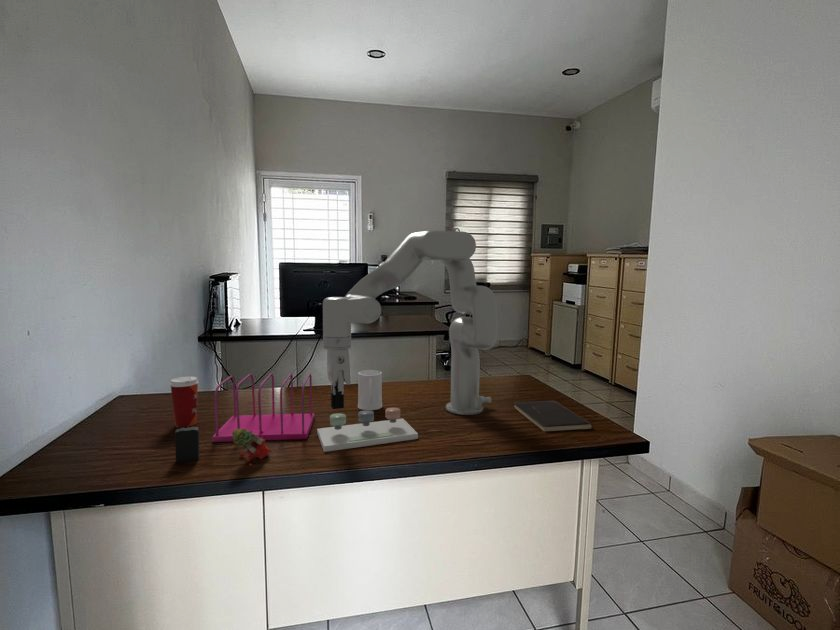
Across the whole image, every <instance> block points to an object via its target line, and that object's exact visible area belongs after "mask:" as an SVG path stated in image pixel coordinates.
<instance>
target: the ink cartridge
mask: <svg viewBox="0 0 840 630" xmlns="http://www.w3.org/2000/svg"><path fill="white" fill-rule="evenodd" d="M174 434H175V435H174V437H175V438H174V439H175V441H174V442H175V463H177V464H181V463H182V464H183V463H189V462H196V461H199V458H200V429H199V427H198V426H191V427H187V428H177V429H175V432H174Z"/></svg>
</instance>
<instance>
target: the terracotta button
mask: <svg viewBox="0 0 840 630" xmlns="http://www.w3.org/2000/svg"><path fill="white" fill-rule="evenodd" d="M384 410H385V416H384V417H385V418H386V419H387V420H389V422H391V423H395V422H396V419H401V411H402V410H401V409H400V408H398V407H387V408H386V409H384Z"/></svg>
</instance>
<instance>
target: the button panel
mask: <svg viewBox="0 0 840 630" xmlns="http://www.w3.org/2000/svg"><path fill="white" fill-rule="evenodd" d="M316 434H317V436H318V440H319V442H320V445H321V448H322V450H323V452H324V453H325V452H326V453H327V452H332V451H333V452H334V451H339V450H347V449H353V448H354V449H355V448H361V447H368V446H376V445H382V444H390V443H397V442H403V441H411V440H412V441H413V440H417V439H419V433H418V432H417V431H416V430H415V429H414V428H413V427H412V426H411V425H410V424H409V423H408V422H407V421H406V420H405V419H404V418H398V419H396V422H395V423H391V422H389V419H387V420H379V421H372V422H370V425H369V426H363V422H360V423H354V424H344V425H342V429H339V430H336V429H334V426H329V427H321V428H317V429H316Z"/></svg>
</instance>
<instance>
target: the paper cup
mask: <svg viewBox="0 0 840 630" xmlns="http://www.w3.org/2000/svg"><path fill="white" fill-rule="evenodd" d="M198 384H199V380H198V377H197V376H189V375H188V376H179V377H175V378H172V379H171V380H170V383H169V387H170V391H171V398H172V408H173V416H174V423H175V424H174V425H175V427H176V426H177V427H176V428H178V427H187V428H188V427H189V426H191V427H194V426H196V425H195V424H198V423H197V422H198V390H199V389H198V388H199V387H198ZM193 425H194V426H193Z"/></svg>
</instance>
